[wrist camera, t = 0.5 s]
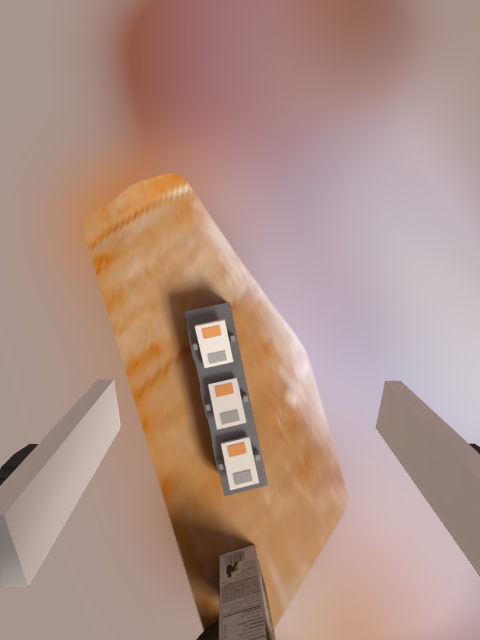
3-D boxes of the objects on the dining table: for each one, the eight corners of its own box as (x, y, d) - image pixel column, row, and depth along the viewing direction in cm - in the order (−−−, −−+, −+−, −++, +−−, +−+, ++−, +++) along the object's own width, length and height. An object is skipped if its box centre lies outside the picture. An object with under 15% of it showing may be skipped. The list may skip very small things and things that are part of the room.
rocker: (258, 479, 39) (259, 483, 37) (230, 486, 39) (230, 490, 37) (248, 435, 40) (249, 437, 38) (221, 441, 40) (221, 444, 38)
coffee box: (268, 593, 46) (295, 745, 30) (230, 605, 46) (238, 766, 30) (255, 542, 46) (276, 668, 30) (217, 554, 45) (217, 689, 29)
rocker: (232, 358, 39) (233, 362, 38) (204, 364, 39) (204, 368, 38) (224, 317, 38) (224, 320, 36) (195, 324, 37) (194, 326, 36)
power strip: (262, 465, 45) (269, 490, 39) (221, 476, 45) (222, 503, 38) (228, 303, 44) (229, 301, 38) (186, 311, 43) (180, 311, 37)
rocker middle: (245, 420, 38) (246, 422, 37) (217, 427, 38) (217, 429, 37) (236, 377, 39) (236, 378, 38) (208, 384, 39) (208, 384, 38)
